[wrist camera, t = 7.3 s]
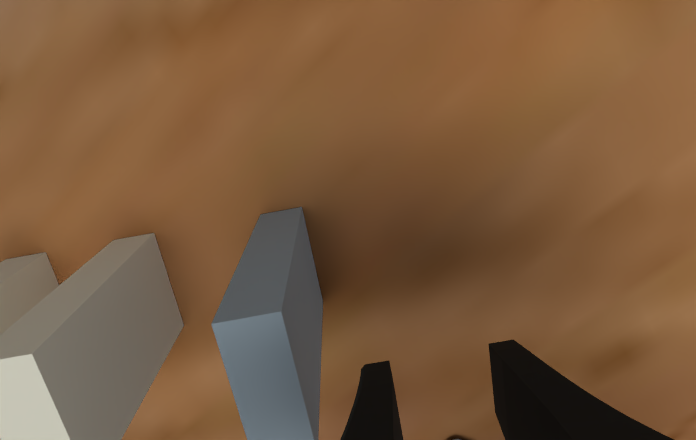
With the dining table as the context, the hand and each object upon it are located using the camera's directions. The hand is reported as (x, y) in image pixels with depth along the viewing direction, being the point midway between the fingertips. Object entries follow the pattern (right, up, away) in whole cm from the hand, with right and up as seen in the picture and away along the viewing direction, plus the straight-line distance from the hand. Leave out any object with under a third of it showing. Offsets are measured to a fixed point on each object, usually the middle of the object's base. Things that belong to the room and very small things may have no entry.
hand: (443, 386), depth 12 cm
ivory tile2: (-11, +1, +10) cm, 15 cm away
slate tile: (-5, +2, +10) cm, 11 cm away
